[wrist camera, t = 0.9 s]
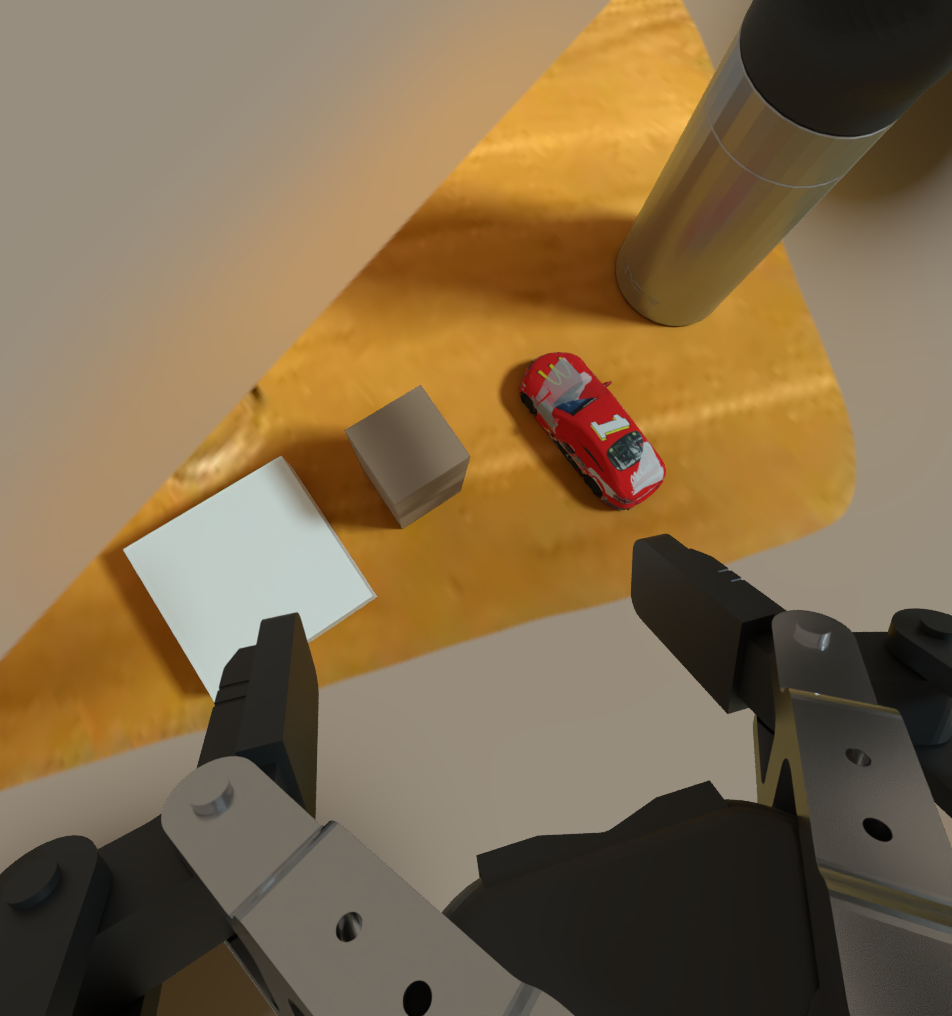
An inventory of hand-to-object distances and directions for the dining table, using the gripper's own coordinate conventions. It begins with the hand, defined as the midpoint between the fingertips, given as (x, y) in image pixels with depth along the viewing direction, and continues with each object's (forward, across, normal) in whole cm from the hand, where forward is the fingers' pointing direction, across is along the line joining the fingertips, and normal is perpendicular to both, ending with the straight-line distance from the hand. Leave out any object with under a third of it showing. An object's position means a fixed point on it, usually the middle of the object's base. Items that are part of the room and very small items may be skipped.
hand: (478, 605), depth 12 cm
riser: (+23, +10, +11) cm, 28 cm away
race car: (+26, -15, +5) cm, 30 cm away
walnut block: (+25, -1, +7) cm, 26 cm away
